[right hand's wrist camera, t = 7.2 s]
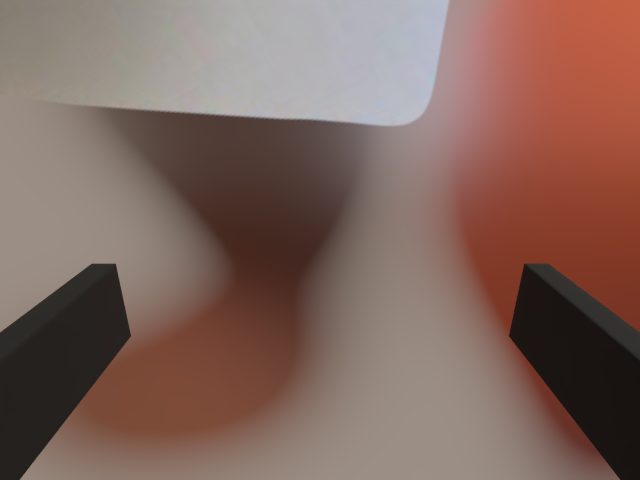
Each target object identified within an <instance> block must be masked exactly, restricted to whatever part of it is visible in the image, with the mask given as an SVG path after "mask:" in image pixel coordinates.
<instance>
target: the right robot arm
mask: <svg viewBox="0 0 640 480" xmlns="http://www.w3.org/2000/svg"><path fill="white" fill-rule="evenodd" d="M130 337H131V334H130V329H129V325H128V320H127V315H126V310H125V306H124V301H123V296H122V291H121V287H120V282H119V277H118V272H117V268H116V264H91V265H90V266H88V267H87V268H86V269H84V270H83V271H82V272H80V273H79V274H78V275H76V276H75V277H74V278H72V279H71V280H70V281H68V282H67V283H66V284H64V285H63V286H62V287H60V288H59V289H58V290H56V291H55V292H54V293H52V294H51V295H50V296H48V297H47V298H46V299H44V300H43V301H42V302H40V303H39V304H38V305H36V306H35V307H34V308H32V309H31V310H30V311H28V312H27V313H26V314H24V315H23V316H22V317H20V318H19V319H18V320H16V321H15V322H14V323H12V324H11V325H10V326H8V327H7V328H6V329H4V330H3V331H2V332H0V480H20V478H21V477H22V476H23V474H24V473H25V472H26V471H27V469H28V468H29V467H30V466H31V464H32V463H33V462H34V460H35V459H36V458H37V456H38V455H39V454H40V453H41V451H42V450H43V449H44V448H45V446H46V445H47V444H48V442H49V441H50V440H51V439H52V437H53V436H54V435H55V433H56V432H57V431H58V429H59V428H60V427H61V426H62V424H63V423H64V422H65V420H66V419H67V418H68V416H69V415H70V414H71V413H72V411H73V410H74V409H75V408H76V406H77V405H78V404H79V402H80V401H81V400H82V399H83V397H84V396H85V395H86V393H87V392H88V391H89V389H90V388H91V387H92V386H93V384H94V383H95V382H96V380H97V379H98V378H99V377H100V375H101V374H102V373H103V371H104V370H105V369H106V368H107V366H108V365H109V364H110V362H111V361H112V360H113V359H114V357H115V356H116V355H117V353H118V352H119V351H120V350H121V348H122V347H123V346H124V344H125V343H126V342H127V340H128V339H129V338H130ZM509 337H510V338H511V339H512V341H513V342H514V343H515V344H516V346H517V347H518V348H519V350H520V351H521V352H522V353H523V355H524V356H525V357H526V359H527V360H528V361H529V362H530V364H531V365H532V366H533V368H534V369H535V370H536V371H537V373H538V374H539V375H540V377H541V378H542V379H543V380H544V382H545V383H546V384H547V386H548V387H549V388H550V390H551V391H552V392H553V393H554V395H555V396H556V397H557V399H558V400H559V401H560V402H561V404H562V405H563V406H564V408H565V409H566V410H567V411H568V413H569V414H570V415H571V417H572V418H573V419H574V420H575V422H576V423H577V424H578V426H579V427H580V428H581V429H582V431H583V432H584V433H585V435H586V436H587V437H588V439H589V440H590V441H591V442H592V444H593V445H594V446H595V448H596V449H597V450H598V451H599V453H600V454H601V455H602V457H603V458H604V459H605V460H606V462H607V463H608V464H609V466H610V467H611V468H612V469H613V471H614V472H615V473H616V475H617V476H618V477H619V478H620V480H640V332H638V331H637V330H636V329H634V328H633V327H632V326H630V325H629V324H628V323H626V322H625V321H624V320H622V319H621V318H620V317H618V316H617V315H616V314H614V313H613V312H612V311H610V310H609V309H608V308H606V307H605V306H604V305H602V304H601V303H600V302H598V301H597V300H596V299H594V298H593V297H592V296H590V295H589V294H588V293H586V292H585V291H584V290H582V289H581V288H580V287H578V286H577V285H576V284H574V283H573V282H572V281H570V280H569V279H568V278H566V277H565V276H564V275H562V274H561V273H560V272H558V271H557V270H556V269H554V268H553V267H552V266H550V265H549V264H524V268H523V273H522V277H521V282H520V287H519V291H518V296H517V301H516V306H515V310H514V315H513V320H512V325H511V329H510V334H509Z"/></svg>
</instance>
